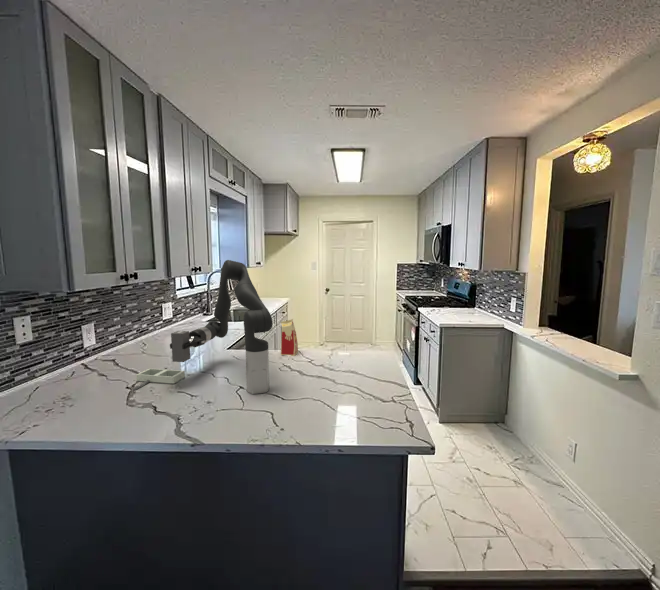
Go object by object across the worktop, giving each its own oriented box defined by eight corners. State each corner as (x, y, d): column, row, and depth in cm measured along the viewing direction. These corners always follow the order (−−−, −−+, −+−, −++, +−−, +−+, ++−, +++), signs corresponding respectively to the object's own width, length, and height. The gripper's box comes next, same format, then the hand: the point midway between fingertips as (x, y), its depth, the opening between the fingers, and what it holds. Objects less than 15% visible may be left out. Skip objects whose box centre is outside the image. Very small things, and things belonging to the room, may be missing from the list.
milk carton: (298, 351, 196) (297, 317, 193) (294, 356, 187) (294, 320, 184) (282, 351, 197) (282, 317, 194) (278, 355, 188) (278, 320, 185)
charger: (183, 362, 140) (181, 333, 139) (172, 361, 141) (170, 333, 139) (190, 358, 145) (189, 330, 143) (179, 357, 146) (178, 330, 144)
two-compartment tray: (160, 392, 137) (159, 385, 137) (120, 389, 140) (120, 382, 140) (184, 377, 154) (184, 370, 153) (149, 375, 157) (148, 368, 156)
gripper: (184, 328, 157) (160, 337, 140) (213, 329, 154) (192, 338, 138) (185, 344, 158) (161, 354, 141) (214, 345, 155) (193, 356, 139)
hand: (177, 346), depth 140 cm, fingers closed on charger, 5 cm apart
